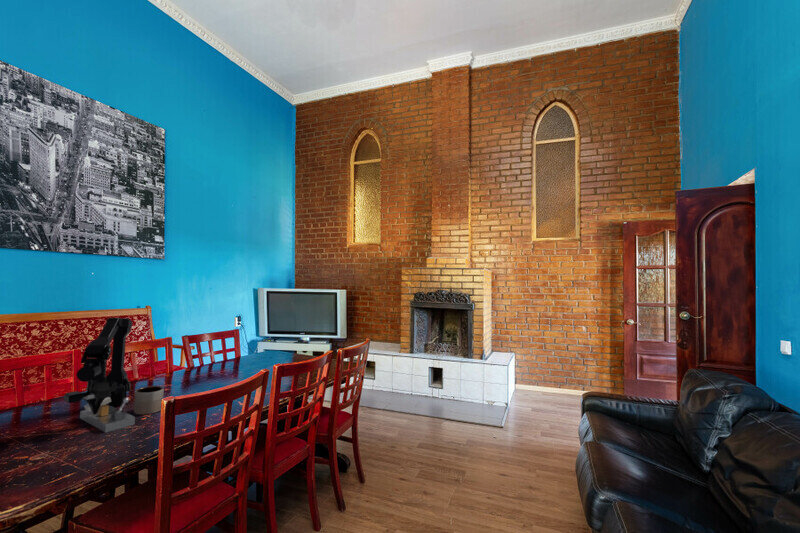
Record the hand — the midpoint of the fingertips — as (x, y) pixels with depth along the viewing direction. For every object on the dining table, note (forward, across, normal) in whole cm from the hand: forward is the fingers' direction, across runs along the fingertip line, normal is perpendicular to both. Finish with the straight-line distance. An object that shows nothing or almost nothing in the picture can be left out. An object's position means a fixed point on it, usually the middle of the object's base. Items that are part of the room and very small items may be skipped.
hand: (94, 414), depth 154 cm
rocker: (-1, +4, +8) cm, 9 cm away
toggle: (0, +4, -9) cm, 10 cm away
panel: (+4, +4, 0) cm, 6 cm away
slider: (+1, +3, 0) cm, 3 cm away
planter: (+4, +20, 0) cm, 20 cm away
